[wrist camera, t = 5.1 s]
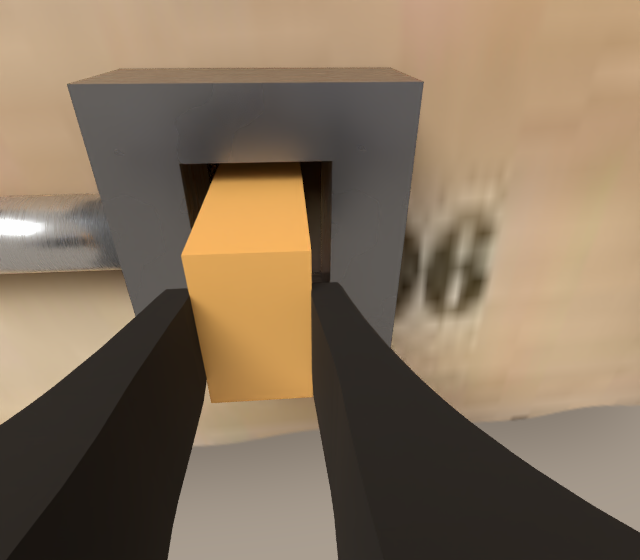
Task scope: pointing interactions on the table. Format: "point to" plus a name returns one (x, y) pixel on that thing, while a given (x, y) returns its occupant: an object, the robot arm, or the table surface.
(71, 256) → the grey peg hole fixture
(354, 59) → the table surface
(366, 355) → the robot arm
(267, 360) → the tall orange cuboid
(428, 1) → the table surface
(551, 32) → the table surface
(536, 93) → the table surface
